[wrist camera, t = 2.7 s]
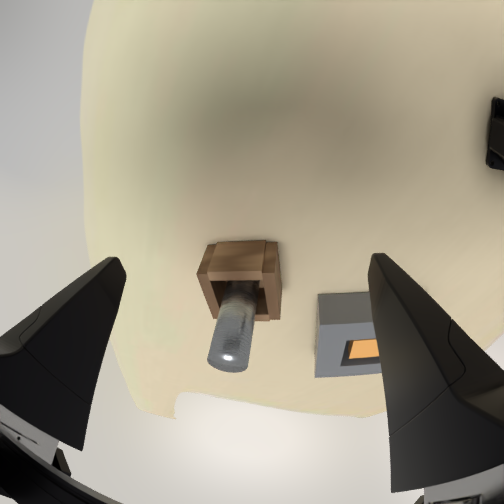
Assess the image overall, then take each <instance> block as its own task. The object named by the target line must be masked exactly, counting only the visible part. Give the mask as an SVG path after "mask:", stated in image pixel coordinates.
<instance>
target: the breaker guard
mask: <svg viewBox="0 0 504 504" xmlns="http://www.w3.org/2000/svg"><path fill="white" fill-rule="evenodd" d="M374 338H376V336H375V331H374V326H373V320H372V311H371V301H370V292H361V293H340V294H318V307H317V326H316V341H315V378H318V377H340V376H355V375H367V374H377V373H382V370H381V364H380V358H379V356H376V357H365V358H351V359H349V354H348V346H349V342H350V340H361V339H374Z"/></svg>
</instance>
